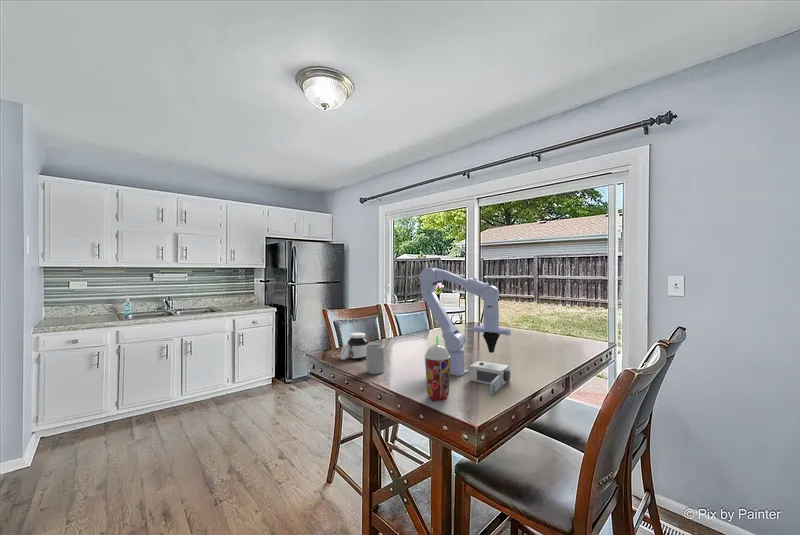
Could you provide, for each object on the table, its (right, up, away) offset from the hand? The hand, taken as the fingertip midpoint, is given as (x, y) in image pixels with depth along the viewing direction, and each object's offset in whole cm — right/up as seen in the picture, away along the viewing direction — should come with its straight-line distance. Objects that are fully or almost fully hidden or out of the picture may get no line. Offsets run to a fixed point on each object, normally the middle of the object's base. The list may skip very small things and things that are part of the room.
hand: (491, 352), depth 132 cm
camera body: (-2, -9, -5) cm, 11 cm away
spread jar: (-57, -11, +29) cm, 65 cm away
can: (-45, -10, +7) cm, 47 cm away
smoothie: (-23, -10, -21) cm, 33 cm away
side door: (-3, -9, -16) cm, 19 cm away
